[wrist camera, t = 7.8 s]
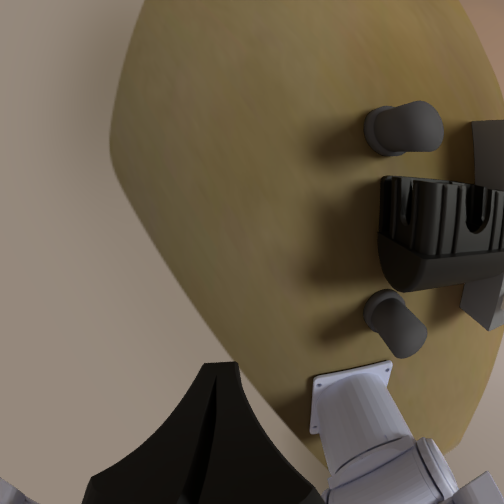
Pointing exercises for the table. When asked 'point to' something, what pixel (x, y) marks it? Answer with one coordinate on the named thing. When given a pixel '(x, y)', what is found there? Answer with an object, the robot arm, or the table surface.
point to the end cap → (439, 232)
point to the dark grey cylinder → (394, 323)
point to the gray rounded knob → (404, 129)
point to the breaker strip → (493, 177)
